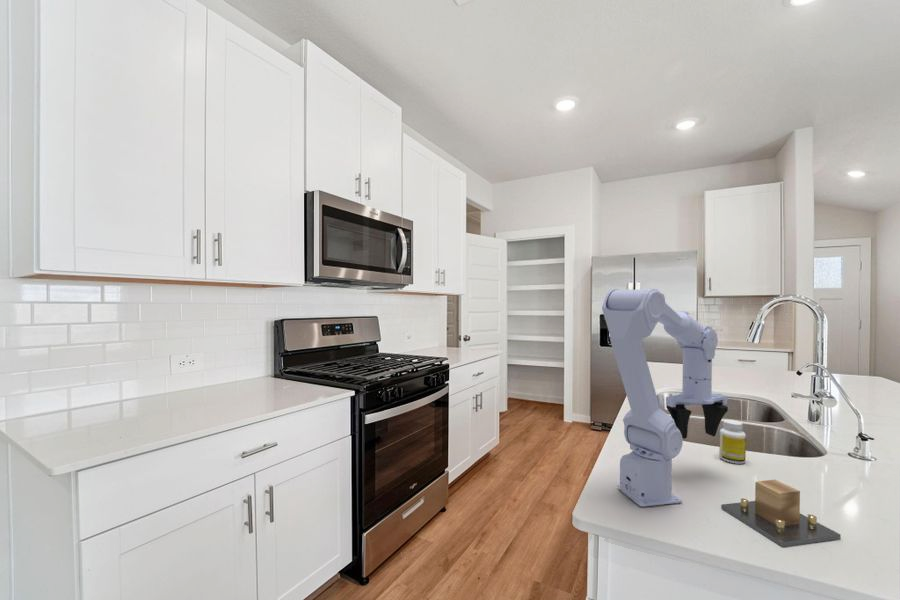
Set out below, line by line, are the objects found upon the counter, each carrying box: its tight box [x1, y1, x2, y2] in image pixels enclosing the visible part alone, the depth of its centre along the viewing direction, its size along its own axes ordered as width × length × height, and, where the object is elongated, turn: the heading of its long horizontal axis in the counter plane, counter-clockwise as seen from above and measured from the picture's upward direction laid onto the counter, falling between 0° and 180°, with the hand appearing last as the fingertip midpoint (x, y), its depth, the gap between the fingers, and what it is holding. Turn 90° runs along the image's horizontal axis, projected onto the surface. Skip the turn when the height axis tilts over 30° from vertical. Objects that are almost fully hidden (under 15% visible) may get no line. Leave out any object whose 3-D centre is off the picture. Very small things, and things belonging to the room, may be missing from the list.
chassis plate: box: [720, 498, 842, 548], centre depth 73 cm, size 12×12×3 cm
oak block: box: [754, 479, 801, 526], centre depth 73 cm, size 4×4×6 cm
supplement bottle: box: [718, 419, 747, 465], centre depth 100 cm, size 5×5×10 cm
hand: (696, 435), depth 92 cm, fingers open, 7 cm apart
